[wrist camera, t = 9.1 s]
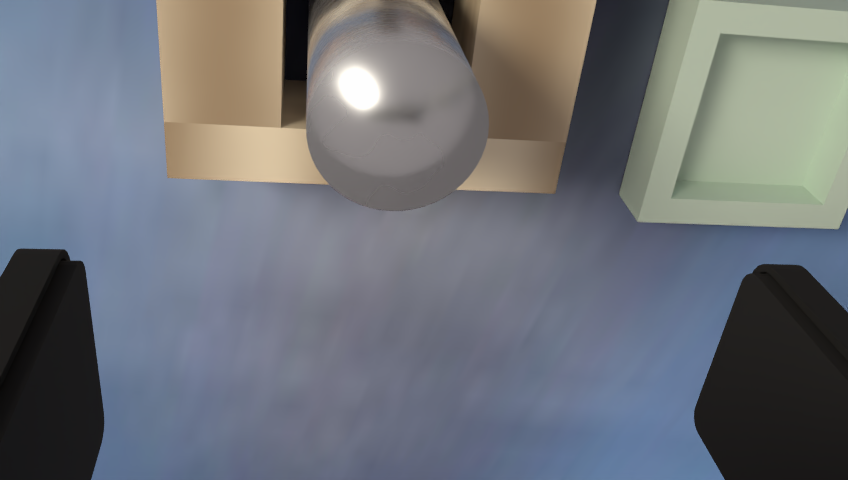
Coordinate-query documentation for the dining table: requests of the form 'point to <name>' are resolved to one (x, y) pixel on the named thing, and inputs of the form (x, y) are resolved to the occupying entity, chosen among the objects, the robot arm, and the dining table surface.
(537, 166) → the socket block
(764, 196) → the square tray
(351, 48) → the brushed metal cylinder
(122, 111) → the dining table surface
